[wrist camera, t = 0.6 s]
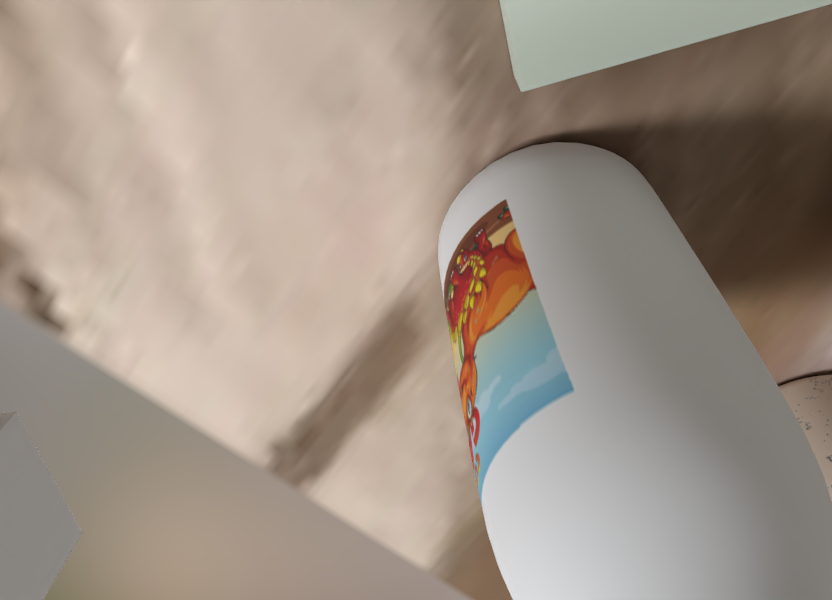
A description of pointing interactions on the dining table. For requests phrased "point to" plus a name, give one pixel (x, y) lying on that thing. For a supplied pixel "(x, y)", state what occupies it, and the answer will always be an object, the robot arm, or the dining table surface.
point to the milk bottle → (619, 397)
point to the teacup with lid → (814, 417)
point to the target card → (620, 31)
